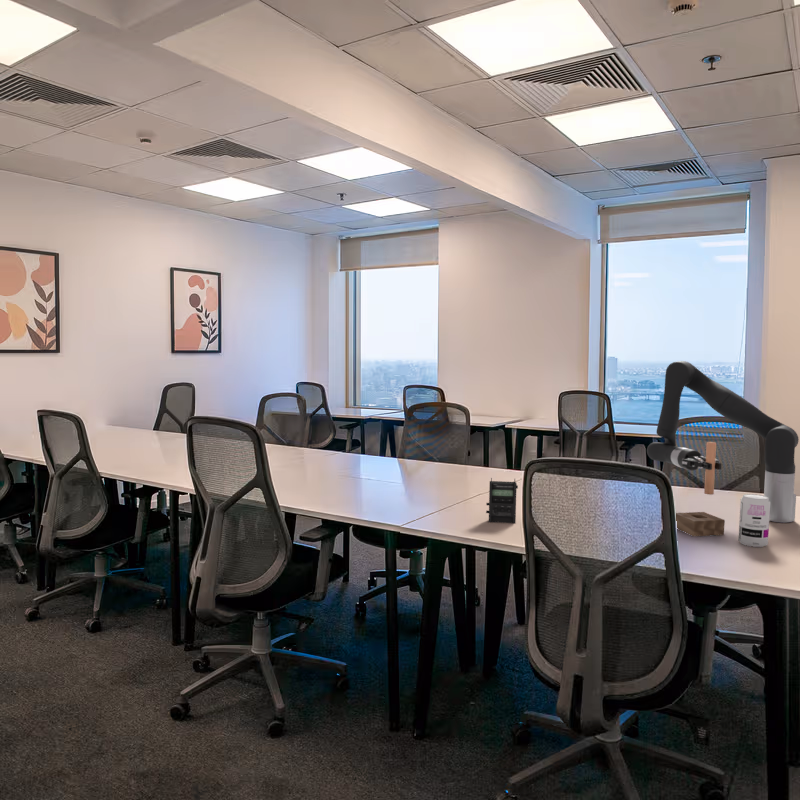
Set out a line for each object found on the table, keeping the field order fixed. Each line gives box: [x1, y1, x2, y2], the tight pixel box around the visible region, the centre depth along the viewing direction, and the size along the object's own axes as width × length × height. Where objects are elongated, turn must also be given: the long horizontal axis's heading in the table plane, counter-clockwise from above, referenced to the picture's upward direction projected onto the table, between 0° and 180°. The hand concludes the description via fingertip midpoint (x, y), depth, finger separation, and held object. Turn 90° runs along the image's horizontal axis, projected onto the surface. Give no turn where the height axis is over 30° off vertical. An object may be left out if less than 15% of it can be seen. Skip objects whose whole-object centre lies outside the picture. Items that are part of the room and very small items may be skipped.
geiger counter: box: [485, 477, 519, 524], centre depth 239 cm, size 10×4×15 cm, turn 82°
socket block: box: [675, 511, 726, 537], centre depth 231 cm, size 11×11×5 cm
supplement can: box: [738, 493, 770, 548], centre depth 216 cm, size 8×8×15 cm
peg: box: [704, 441, 717, 496], centre depth 243 cm, size 3×3×18 cm
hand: (715, 466), depth 240 cm, fingers closed on peg, 3 cm apart
